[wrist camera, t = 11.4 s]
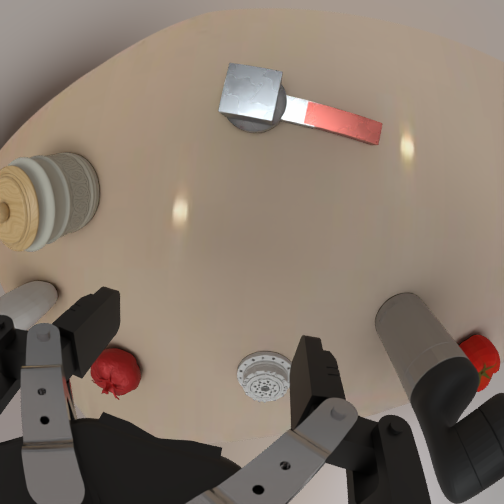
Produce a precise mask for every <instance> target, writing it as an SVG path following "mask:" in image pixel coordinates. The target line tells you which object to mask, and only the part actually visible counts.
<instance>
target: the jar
mask: <svg viewBox="0 0 504 504" xmlns="http://www.w3.org/2000/svg"><path fill="white" fill-rule="evenodd" d="M98 202H99V183H98V179H97V176H96V173H95V171H94V169H93V167H92V166H91V164H90V163H89V162H88V161H87V160H86V159H85V158H83V157H82V156H80V155H77V154H73V153H58V154H56V155H47V156H42V155H37V156H33V157H31V158H28V157H20V158H17V159H15V160H14V161H12V162H11V163H10V164H9V165H8V166H6V167H4V168H3V169H1V170H0V240H1V241H2V242H3V243H4V244H5V245H6V246H7V247H8V248H10V249H11V250H14V251H28V252H33V251H37V250H39V249H41V248H42V247H44V246H45V245H46V244H50V243H53V242H55V241H56V240H58V239H59V238H60V237H62V236H64V235H66V234H68V233H72V232H75V231H77V230H79V229H81V228H82V227H84V226H85V225H86V224H87V223H88V222H89V221H90V220H91V219H92V217H93V216H94V214H95V212H96V209H97V206H98Z"/></svg>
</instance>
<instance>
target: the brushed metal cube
mask: <svg viewBox="0 0 504 504" xmlns="http://www.w3.org/2000/svg"><path fill="white" fill-rule="evenodd" d="M282 73H283V72H281V71H277V70H271V69H266V68H260V67H254V66H248V65H241V64H234V63H229V67H228V71H227V75H226V80H225V84H224V88H223V93H222V97H221V101H220V106H219V110H218V111H219V112H220V113H221V114H223V115H224V116H225V117H227V118H231V119H237V120H242V121H248V122H253V123H258V124H263V125H268V126H272V125H273V120H274V116H275V111H276V106H277V102H278V97H279V93H280V88H281V83H282Z"/></svg>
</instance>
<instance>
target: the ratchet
mask: <svg viewBox="0 0 504 504" xmlns="http://www.w3.org/2000/svg"><path fill="white" fill-rule="evenodd" d="M228 120H229V121H230V122H231V123H232V124H233V125H235V126H236V127H238V128H239V129H241V130H243V131H246V132H250V133H262V132H266V131H268V130H270V129H272V128H274V127H275V126H276V125H277V124H278V123H279V122H280V121H283V122H287V123H291V124H296V125H300V126H304V127H308V128H312V129H313V128H315V129H319V130H322V131H326V132H330V133H333V134H337V135H340V136H344V137H347V138H351V139H354V140H357V141H360V142H363V143H367V144H370V145H378V143H379V138H380V134H381V129H382V123H380V122H377V121H374V120H371V119H368V118H365V117H362V116H359V115H356V114H352V113H349V112H346V111H343V110H339V109H336V108H332V107H329V106H325V105H321V104H319V103H315V102H312V101H308V100H303V99H299V98H295V97H291V96H286V92H285V90H284V87H283V86H282V84H281V88H280V93H279V97H278V102H277V106H276V111H275V116H274V120H273V125H272V126H268V125H263V124H258V123H253V122H248V121H242V120H237V119H231V118H228Z"/></svg>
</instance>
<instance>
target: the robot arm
mask: <svg viewBox="0 0 504 504" xmlns="http://www.w3.org/2000/svg"><path fill="white" fill-rule="evenodd" d="M119 326H120V293H119V291H117V290H113V289H110V288H107V287H101V288H100V289H99V290H98V291H97V292H96V293H95V294H89V295H87V296H84V297H82V298H80V299H79V300H78V301H77V302H76V303H75V304H74V305H72V306H71V307H70V308H69V309H68V310H67V311H65V312H64V313H63V314H62V315H61V316H60V317H59V318H58V319H57V320H55V321H54V322H53V323H52V324H49V323H40V324H36V325H34V326H33V327H31V328H30V329H29V331H27V330H21V329H16V328H15V327H14V323H13V320H12V318H10V317H9V316H7V315H0V414H1V413H2V412H3V410H4V409H5V407H6V406H7V405H8V403H9V402H10V401H11V399H12V398H13V397H14V395H15V394H16V393H17V391H18V390H19V389H20V387H21V415H22V429H23V436H22V437H19V438H15V439H12V440H9V441H5V442H1V443H0V504H288V503H289V502H290V501H291V500H292V499H293V498H294V497H295V496H296V495H297V494H298V493H299V492H300V490H302V488H303V487H304V486H305V485H306V484H307V483H308V482H309V481H310V480H311V479H312V478H313V476H314V475H315V474H316V473H317V472H318V471H319V470H320V468H321V467H322V466H323V465H324V464H325V463H328V464H331V465H335V466H338V467H341V468H345V469H346V474H347V489H348V504H431V500H430V496H429V492H428V488H427V484H426V480H425V476H424V472H423V468H422V465H421V461H420V457H419V454H418V451H417V447H416V444H415V440H414V437H413V434H412V430H411V428H410V426H409V424H408V423H407V422H406V421H405V420H404V419H403V418H401V417H399V416H395V415H386V416H384V417H382V418H381V419H380V420H379V422H375V421H372V420H369V419H365V418H363V417H360V416H358V413H357V410H356V408H355V407H354V406H353V405H352V404H351V403H350V402H348V401H346V398H345V394H344V390H343V386H342V382H341V377H340V373H339V370H338V365H337V361H336V359H335V358H334V356H333V355H332V354H331V352H330V351H325V350H323V348H322V343H321V339H320V338H317V337H311V336H305V335H303V336H302V337H301V339H300V342H299V345H298V347H297V350H296V353H295V356H294V358H293V361H292V364H291V368H290V374H289V379H290V406H291V429H289V430H288V431H287V432H285V433H284V434H283V435H282V436H281V437H280V438H279V439H277V440H276V441H275V442H274V443H273V444H272V445H270V446H269V447H268V448H267V449H266V450H264V451H263V452H262V453H261V454H259V455H258V456H257V457H256V458H255V459H253V460H252V461H251V462H249V463H248V464H247V465H246V466H244V467H243V468H241V467H240V466H239V465H237V464H236V463H234V462H233V461H231V460H229V459H227V458H225V457H222V456H221V451H222V448H221V447H217V446H212V445H207V444H203V443H199V442H194V441H188V440H172V439H161V438H156V437H154V436H153V435H151V434H149V433H147V432H146V431H144V430H142V429H140V428H139V427H137V426H135V425H134V424H132V423H131V422H128V421H125V420H123V419H120V418H117V417H115V416H112V415H110V414H107V413H105V412H103V413H102V415H101V417H100V418H99V419H94V418H81V419H77V415H76V411H75V406H74V401H73V395H72V389H71V383H70V379H69V378H70V377H71V376H72V375H75V376H77V377H80V378H83V377H84V375H85V374H86V373H87V371H88V370H89V369H90V367H91V366H92V365H93V363H94V362H95V361H96V359H97V358H98V357H99V355H100V354H101V353H102V351H103V350H104V349H105V348H106V346H107V345H108V344H109V342H110V341H111V340H112V339H113V337H114V336H115V335H116V333H117V332H118V329H119ZM375 326H376V330H377V332H378V334H379V337H380V339H381V341H382V343H383V345H384V347H385V349H386V351H387V353H388V355H389V357H390V359H391V362H392V364H393V366H394V368H395V370H396V372H397V374H398V377H399V379H400V381H401V383H402V385H403V388H404V390H405V392H406V394H407V396H408V399H409V401H410V403H411V405H412V408H413V410H414V412H415V414H416V416H417V419H418V421H419V424H420V426H421V429H422V431H423V434H424V437H425V440H426V443H427V446H428V449H429V453H430V457H431V460H432V464H433V468H434V471H435V474H436V477H437V480H438V483H439V485H440V487H441V490H442V492H443V493H444V495H445V497H446V498H447V499H448V500H449V501H451V502H452V503H455V504H458V503H462V502H464V501H467V500H468V499H470V498H472V497H474V496H475V495H477V494H479V493H480V492H482V491H483V490H485V489H486V488H488V487H489V486H491V485H492V484H494V483H495V482H497V481H498V480H500V479H501V478H502V477H504V393H499V394H496V395H495V396H493V397H492V398H490V399H489V400H488V401H486V402H485V403H484V404H482V405H481V406H480V407H478V409H476V410H474V411H473V412H471V413H470V414H469V415H468V416H466V417H465V418H463V419H462V420H460V421H459V422H458V423H456V422H457V421H458V419H459V417H460V416H461V414H462V413H463V411H464V410H465V409H466V407H467V406H468V405H469V404H470V402H471V401H472V399H473V398H474V396H475V394H476V392H477V390H478V386H479V374H478V371H477V369H476V368H475V366H474V365H473V364H472V362H471V361H470V360H469V358H468V357H467V356H466V355H465V353H464V352H463V351H462V349H461V348H460V347H459V346H458V344H457V343H456V342H455V340H454V339H453V338H452V337H451V335H450V334H449V333H448V332H447V330H446V329H445V328H444V327H443V325H442V324H441V323H440V322H439V321H438V319H437V318H436V317H435V316H434V315H433V313H432V312H431V311H430V310H429V308H428V307H427V306H426V305H425V304H424V303H423V301H422V300H421V299H420V298H419V297H418V296H416V295H414V294H411V293H402V294H399V295H396V296H394V297H392V298H390V299H389V300H388V301H386V302H385V304H384V305H383V306H382V307H381V308H380V310H379V312H378V314H377V316H376V321H375Z"/></svg>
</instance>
